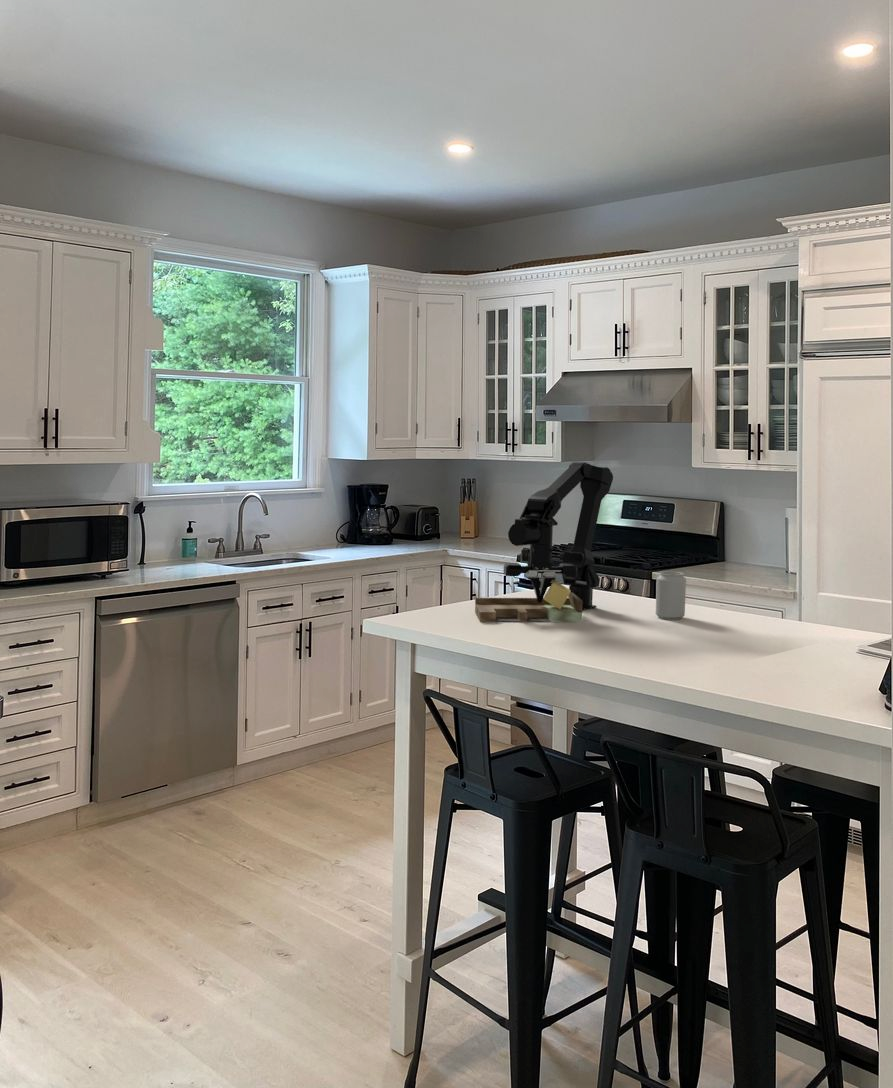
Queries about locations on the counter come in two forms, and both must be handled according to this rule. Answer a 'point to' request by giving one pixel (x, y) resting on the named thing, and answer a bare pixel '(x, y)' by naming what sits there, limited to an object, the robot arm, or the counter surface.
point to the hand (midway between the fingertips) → (539, 602)
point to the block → (557, 594)
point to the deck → (527, 610)
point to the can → (670, 595)
